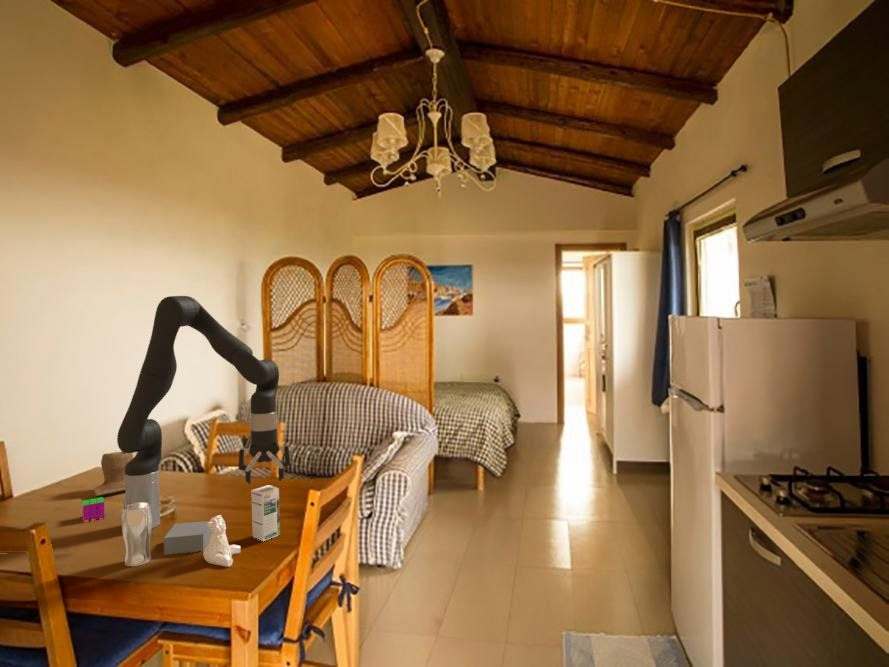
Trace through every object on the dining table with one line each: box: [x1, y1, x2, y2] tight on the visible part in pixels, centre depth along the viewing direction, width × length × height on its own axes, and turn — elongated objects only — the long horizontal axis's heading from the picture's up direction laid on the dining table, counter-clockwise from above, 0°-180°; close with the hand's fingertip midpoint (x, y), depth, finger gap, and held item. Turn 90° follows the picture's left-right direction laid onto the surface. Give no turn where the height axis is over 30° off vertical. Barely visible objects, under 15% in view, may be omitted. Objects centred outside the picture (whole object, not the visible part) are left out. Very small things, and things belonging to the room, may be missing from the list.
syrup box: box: [250, 484, 281, 543], centre depth 151 cm, size 6×6×14 cm
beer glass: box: [121, 502, 153, 567], centre depth 136 cm, size 7×7×15 cm
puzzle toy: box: [81, 496, 106, 522], centre depth 167 cm, size 6×6×6 cm
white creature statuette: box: [202, 514, 241, 568], centre depth 137 cm, size 10×9×12 cm
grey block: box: [163, 520, 212, 556], centre depth 146 cm, size 10×10×5 cm
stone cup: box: [93, 451, 134, 498], centre depth 193 cm, size 15×12×15 cm
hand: (265, 481), depth 151 cm, fingers open, 8 cm apart
